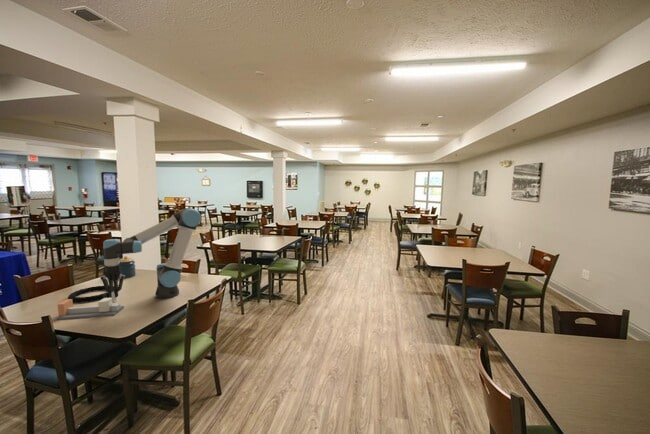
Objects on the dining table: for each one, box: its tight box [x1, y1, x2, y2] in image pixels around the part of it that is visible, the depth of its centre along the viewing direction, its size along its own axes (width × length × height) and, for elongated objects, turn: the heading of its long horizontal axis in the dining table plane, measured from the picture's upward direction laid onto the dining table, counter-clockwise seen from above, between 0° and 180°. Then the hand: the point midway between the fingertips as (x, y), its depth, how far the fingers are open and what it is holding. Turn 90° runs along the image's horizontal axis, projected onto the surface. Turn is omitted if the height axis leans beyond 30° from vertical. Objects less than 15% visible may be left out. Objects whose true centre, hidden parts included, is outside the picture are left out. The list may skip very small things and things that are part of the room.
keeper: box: [97, 298, 114, 312], centre depth 180 cm, size 5×6×6 cm
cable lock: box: [67, 285, 114, 304], centre depth 208 cm, size 28×4×30 cm
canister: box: [118, 256, 137, 279], centre depth 253 cm, size 13×13×18 cm
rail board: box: [56, 298, 125, 321], centre depth 179 cm, size 30×12×8 cm, turn 101°
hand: (114, 302), depth 181 cm, fingers closed
